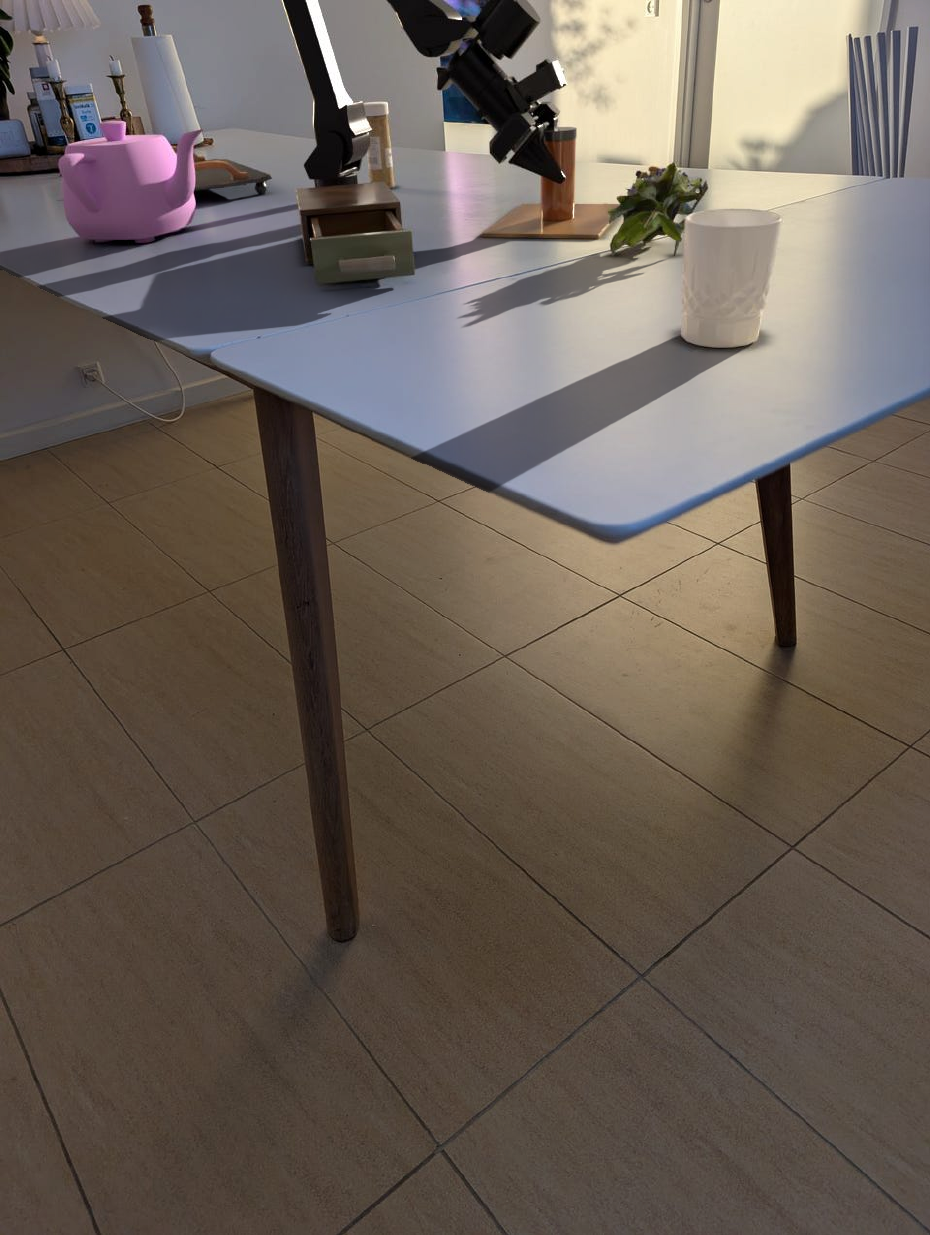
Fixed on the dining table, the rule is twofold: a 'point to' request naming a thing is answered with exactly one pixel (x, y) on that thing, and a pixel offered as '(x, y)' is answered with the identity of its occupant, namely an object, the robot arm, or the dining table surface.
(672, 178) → the green leafy plant
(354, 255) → the drawer
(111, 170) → the teapot
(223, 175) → the serving tray
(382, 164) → the sprinkles bottle
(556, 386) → the dining table surface
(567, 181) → the spice bottle
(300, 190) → the cabinet
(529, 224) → the wooden cutting board
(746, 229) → the white cup
